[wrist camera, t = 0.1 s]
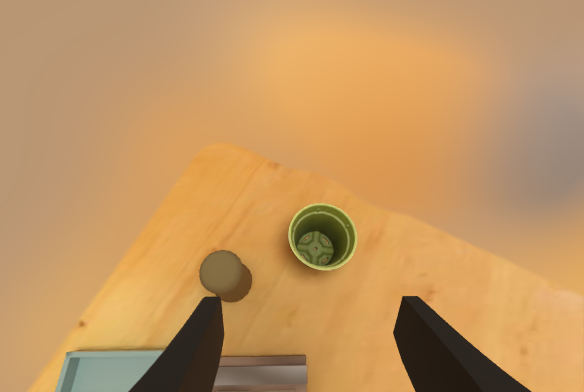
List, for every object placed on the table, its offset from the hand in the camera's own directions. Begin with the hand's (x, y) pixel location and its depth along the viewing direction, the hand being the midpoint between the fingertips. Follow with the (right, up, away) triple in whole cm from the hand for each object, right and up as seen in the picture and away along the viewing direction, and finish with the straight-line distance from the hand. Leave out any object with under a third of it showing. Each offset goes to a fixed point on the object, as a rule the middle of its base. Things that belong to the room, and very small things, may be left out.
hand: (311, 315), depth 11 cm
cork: (-10, -9, +31) cm, 34 cm away
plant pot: (+3, -4, +34) cm, 34 cm away
